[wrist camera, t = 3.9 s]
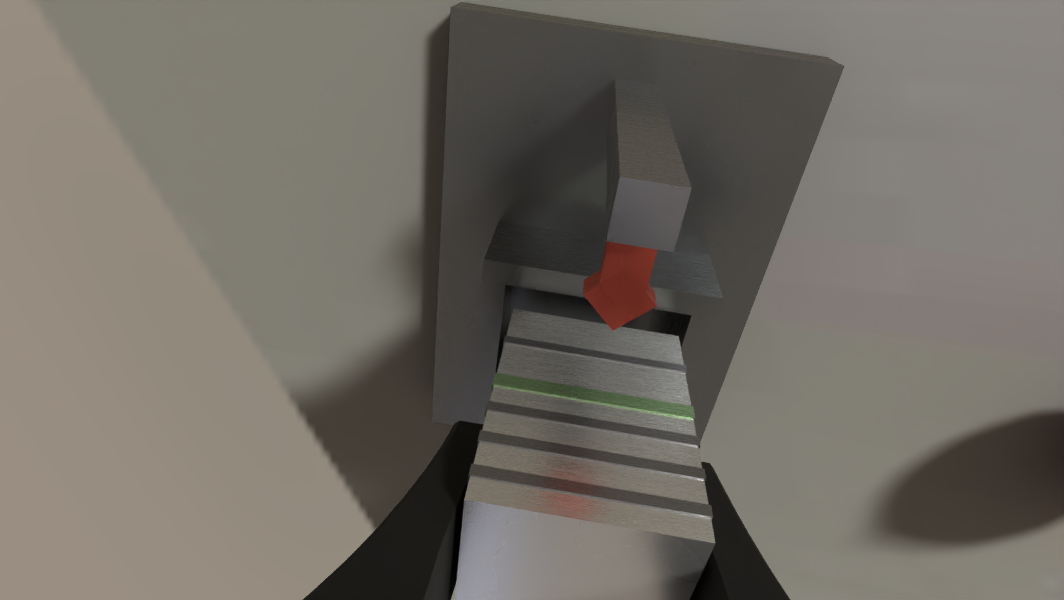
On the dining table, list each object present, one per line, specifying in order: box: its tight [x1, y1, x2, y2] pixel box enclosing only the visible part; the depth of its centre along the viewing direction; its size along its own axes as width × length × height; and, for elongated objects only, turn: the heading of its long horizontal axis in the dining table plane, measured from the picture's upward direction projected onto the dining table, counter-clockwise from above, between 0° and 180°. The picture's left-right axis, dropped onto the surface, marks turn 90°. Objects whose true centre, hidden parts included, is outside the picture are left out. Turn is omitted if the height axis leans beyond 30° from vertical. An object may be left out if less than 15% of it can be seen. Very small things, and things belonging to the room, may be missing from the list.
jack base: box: [432, 2, 844, 441], centre depth 14 cm, size 13×9×8 cm
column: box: [455, 309, 715, 600], centre depth 13 cm, size 4×4×6 cm
